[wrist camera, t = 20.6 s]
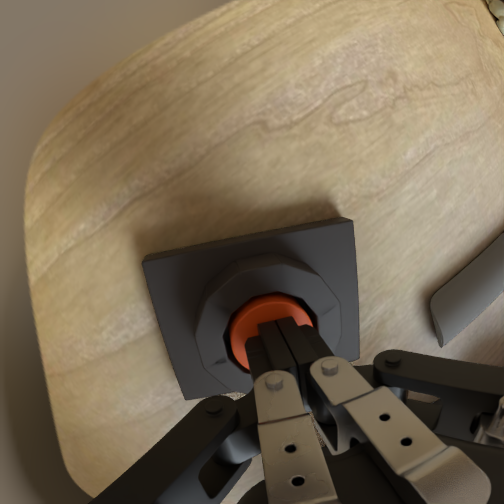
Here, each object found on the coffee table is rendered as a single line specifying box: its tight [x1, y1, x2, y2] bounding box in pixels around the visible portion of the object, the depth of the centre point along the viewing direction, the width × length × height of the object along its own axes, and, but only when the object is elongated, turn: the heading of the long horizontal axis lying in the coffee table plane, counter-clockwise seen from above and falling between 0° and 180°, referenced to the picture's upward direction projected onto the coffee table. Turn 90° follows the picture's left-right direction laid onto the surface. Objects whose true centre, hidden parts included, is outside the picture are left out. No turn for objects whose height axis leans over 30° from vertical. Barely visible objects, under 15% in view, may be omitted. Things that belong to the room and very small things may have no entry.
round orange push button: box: [228, 291, 313, 370], centre depth 14 cm, size 4×4×2 cm
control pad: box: [142, 217, 360, 400], centre depth 15 cm, size 10×8×3 cm
